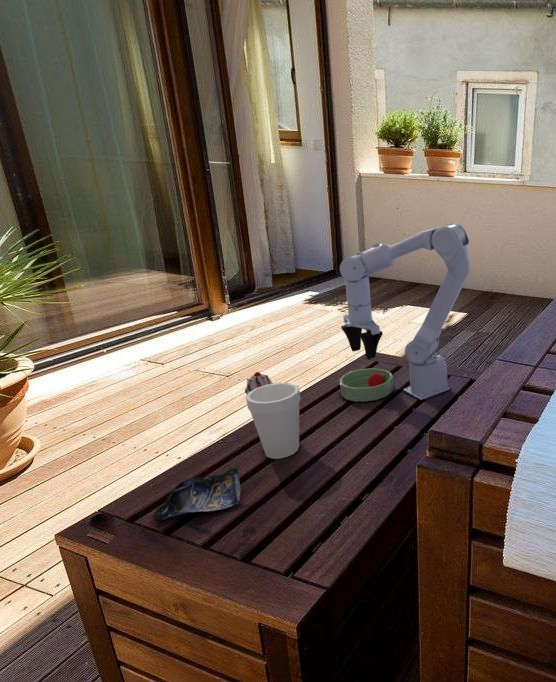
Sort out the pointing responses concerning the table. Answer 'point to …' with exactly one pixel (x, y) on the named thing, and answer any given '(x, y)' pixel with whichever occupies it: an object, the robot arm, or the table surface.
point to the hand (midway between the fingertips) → (363, 354)
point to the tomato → (376, 380)
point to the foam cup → (276, 418)
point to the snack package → (202, 495)
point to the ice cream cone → (257, 382)
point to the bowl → (365, 385)
